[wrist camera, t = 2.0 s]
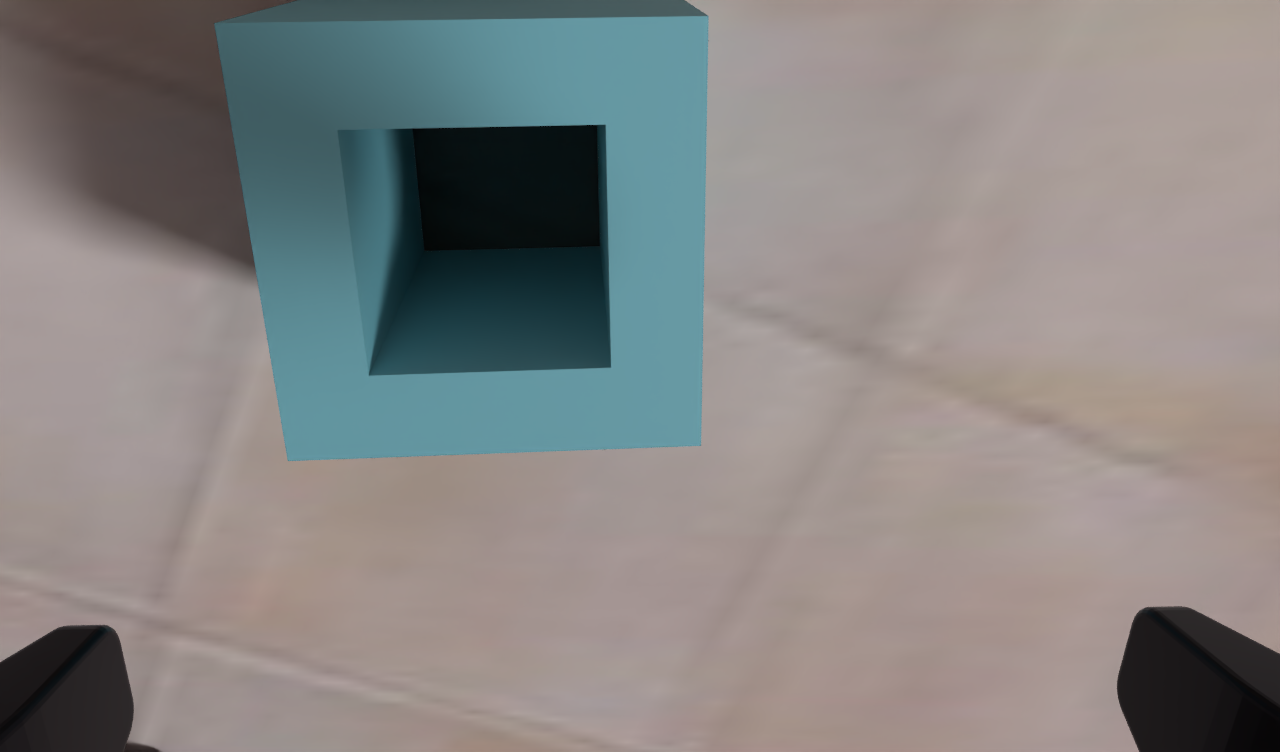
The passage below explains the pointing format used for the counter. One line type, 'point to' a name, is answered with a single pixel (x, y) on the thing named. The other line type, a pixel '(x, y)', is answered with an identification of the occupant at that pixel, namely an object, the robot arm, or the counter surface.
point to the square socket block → (472, 279)
